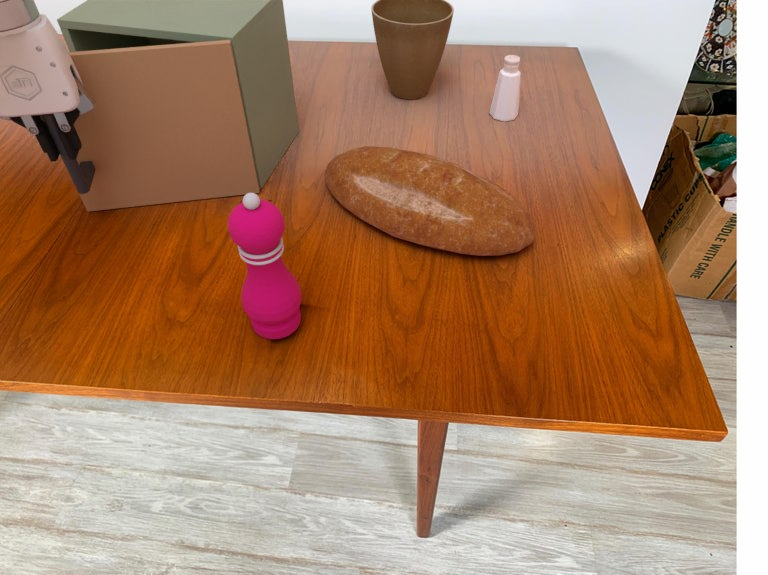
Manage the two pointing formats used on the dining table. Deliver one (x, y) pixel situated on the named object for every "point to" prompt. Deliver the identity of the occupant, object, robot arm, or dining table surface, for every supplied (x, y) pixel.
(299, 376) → the dining table surface
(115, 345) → the dining table surface
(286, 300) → the pepper mill
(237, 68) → the cupboard
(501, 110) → the salt shaker
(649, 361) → the dining table surface
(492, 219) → the bread
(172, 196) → the cupboard door
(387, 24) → the plant pot
